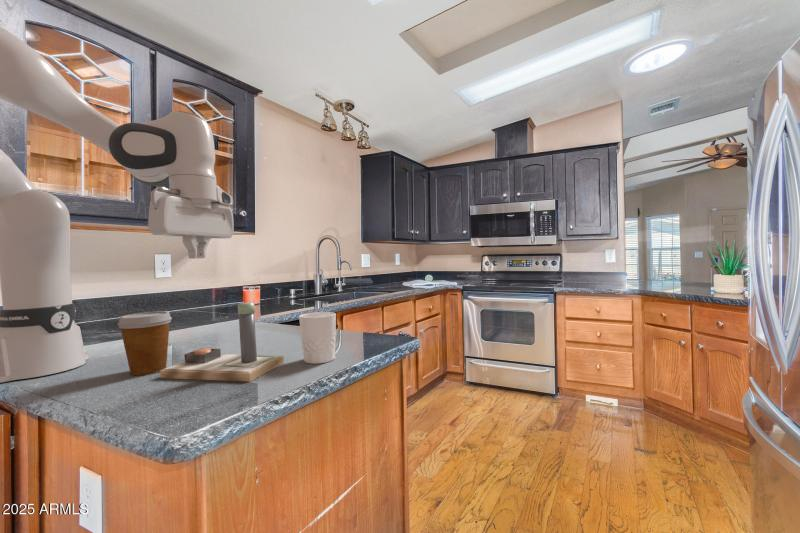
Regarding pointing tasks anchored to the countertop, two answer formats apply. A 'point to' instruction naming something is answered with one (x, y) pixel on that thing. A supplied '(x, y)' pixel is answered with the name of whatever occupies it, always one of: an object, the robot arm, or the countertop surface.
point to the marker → (247, 332)
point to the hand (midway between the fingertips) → (197, 258)
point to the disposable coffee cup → (146, 341)
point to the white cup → (318, 336)
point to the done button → (202, 351)
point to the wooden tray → (221, 367)
